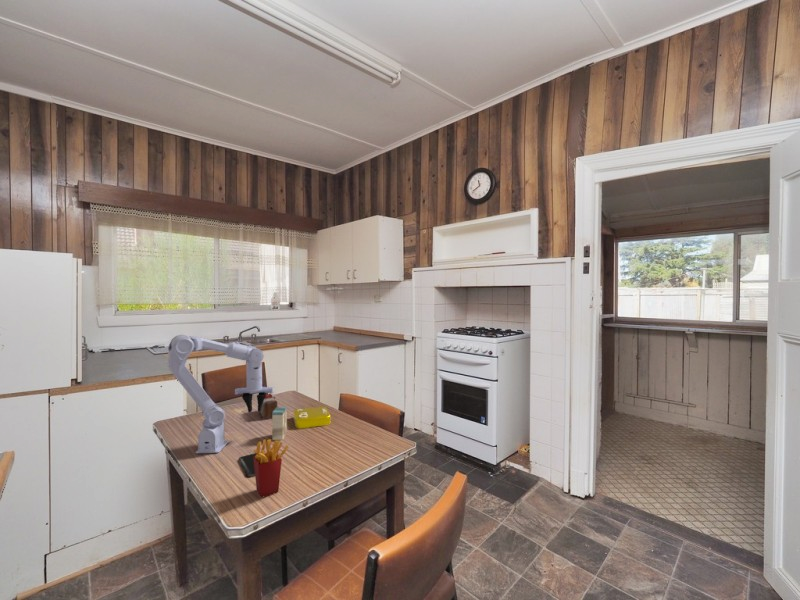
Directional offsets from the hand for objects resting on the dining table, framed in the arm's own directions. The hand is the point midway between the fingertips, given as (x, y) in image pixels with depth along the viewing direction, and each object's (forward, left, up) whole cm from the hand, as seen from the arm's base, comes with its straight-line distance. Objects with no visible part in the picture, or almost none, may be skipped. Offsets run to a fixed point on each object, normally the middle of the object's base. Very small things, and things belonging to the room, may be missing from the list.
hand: (254, 411), depth 140 cm
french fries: (-38, -17, -11) cm, 43 cm away
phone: (-23, -8, -11) cm, 27 cm away
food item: (+27, +2, -11) cm, 29 cm away
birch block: (0, -10, -10) cm, 14 cm away
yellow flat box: (+17, -20, -11) cm, 28 cm away
